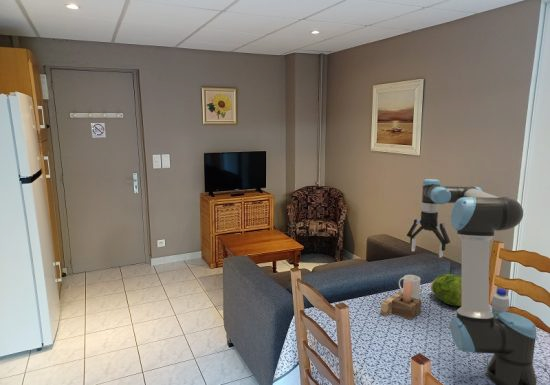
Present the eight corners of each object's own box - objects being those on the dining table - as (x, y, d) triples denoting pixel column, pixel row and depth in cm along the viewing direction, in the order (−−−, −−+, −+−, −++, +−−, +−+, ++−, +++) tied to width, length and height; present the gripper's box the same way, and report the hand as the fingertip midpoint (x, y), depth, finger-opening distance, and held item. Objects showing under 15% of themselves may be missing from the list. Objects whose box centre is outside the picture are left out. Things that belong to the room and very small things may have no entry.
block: (411, 320, 182) (412, 307, 181) (391, 313, 189) (392, 300, 188) (420, 313, 189) (421, 300, 188) (401, 306, 196) (401, 294, 195)
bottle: (508, 337, 168) (513, 292, 165) (491, 335, 169) (496, 291, 166) (503, 329, 174) (507, 286, 171) (486, 327, 176) (490, 285, 172)
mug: (393, 296, 209) (394, 274, 207) (404, 292, 213) (405, 271, 212) (412, 304, 199) (413, 281, 197) (422, 300, 204) (424, 278, 202)
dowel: (408, 313, 187) (410, 285, 185) (401, 311, 189) (402, 283, 187) (411, 311, 189) (413, 283, 187) (404, 308, 192) (406, 281, 190)
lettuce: (448, 297, 214) (440, 270, 215) (482, 300, 195) (473, 270, 196) (427, 307, 207) (419, 279, 208) (460, 311, 188) (451, 280, 189)
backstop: (386, 316, 186) (386, 304, 185) (380, 314, 188) (381, 302, 187) (405, 303, 200) (406, 292, 199) (400, 301, 202) (400, 290, 201)
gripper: (459, 213, 183) (456, 257, 186) (408, 206, 199) (405, 247, 203) (453, 216, 177) (450, 261, 180) (401, 208, 194) (399, 250, 197)
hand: (426, 254), depth 191 cm, fingers open, 13 cm apart
